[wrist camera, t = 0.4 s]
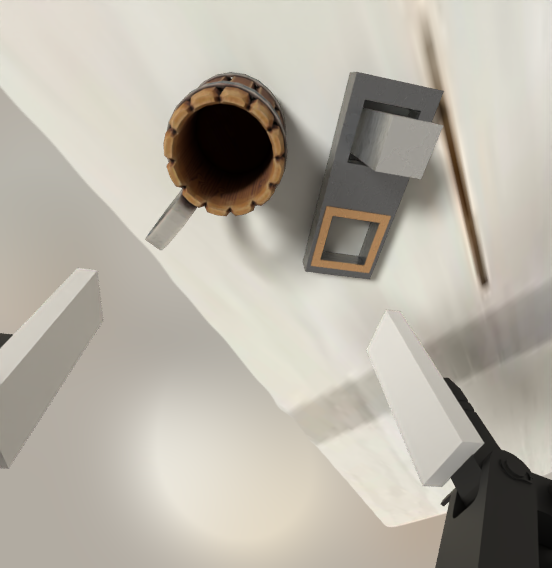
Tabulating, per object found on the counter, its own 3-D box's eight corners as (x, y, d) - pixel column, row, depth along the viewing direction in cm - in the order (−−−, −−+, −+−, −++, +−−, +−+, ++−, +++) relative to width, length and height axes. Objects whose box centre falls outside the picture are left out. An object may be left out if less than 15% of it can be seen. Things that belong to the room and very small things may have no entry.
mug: (229, 44, 30) (210, 18, 17) (304, 129, 34) (333, 157, 22) (141, 168, 35) (78, 216, 23) (215, 227, 40) (197, 295, 27)
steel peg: (362, 107, 33) (393, 115, 26) (401, 115, 34) (443, 125, 26) (349, 152, 36) (375, 171, 28) (386, 158, 36) (421, 179, 29)
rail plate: (350, 72, 31) (357, 71, 29) (431, 90, 33) (444, 91, 30) (302, 262, 43) (305, 271, 41) (364, 269, 44) (370, 279, 42)
